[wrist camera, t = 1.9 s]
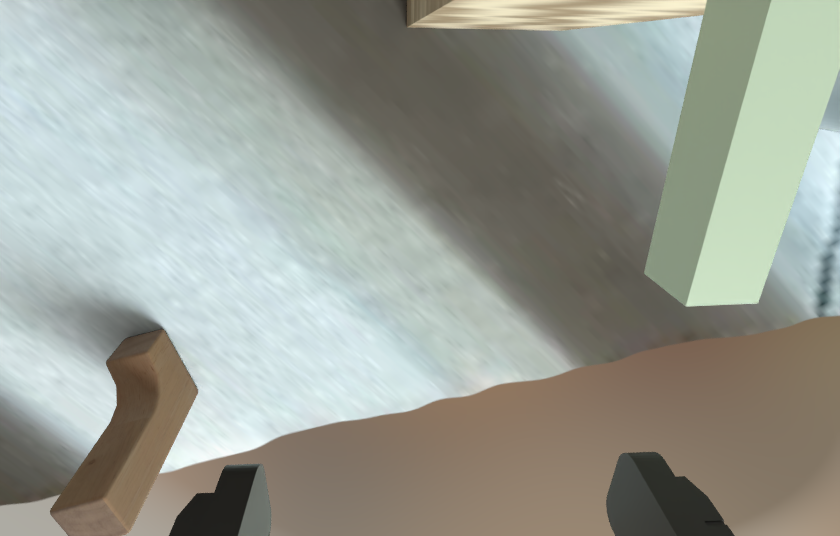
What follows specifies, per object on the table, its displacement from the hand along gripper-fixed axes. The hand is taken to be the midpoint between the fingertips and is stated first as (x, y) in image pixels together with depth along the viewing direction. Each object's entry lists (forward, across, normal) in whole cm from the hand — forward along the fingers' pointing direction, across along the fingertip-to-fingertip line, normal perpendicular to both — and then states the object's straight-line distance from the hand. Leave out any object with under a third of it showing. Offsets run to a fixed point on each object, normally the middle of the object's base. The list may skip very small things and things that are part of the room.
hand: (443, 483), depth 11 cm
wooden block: (+37, +26, +25) cm, 51 cm away
